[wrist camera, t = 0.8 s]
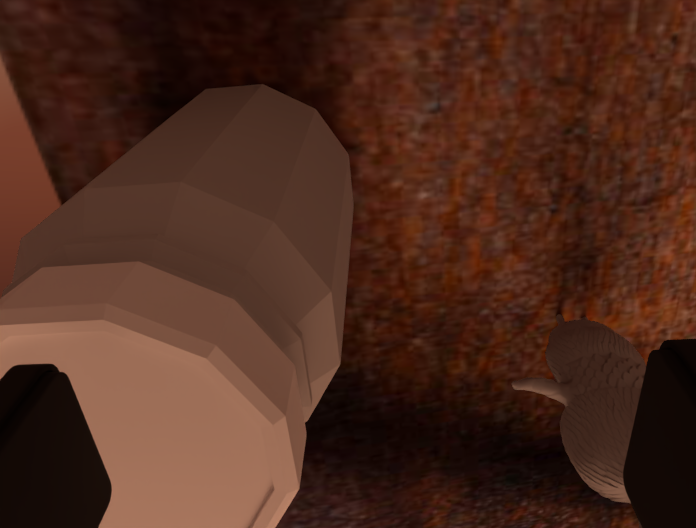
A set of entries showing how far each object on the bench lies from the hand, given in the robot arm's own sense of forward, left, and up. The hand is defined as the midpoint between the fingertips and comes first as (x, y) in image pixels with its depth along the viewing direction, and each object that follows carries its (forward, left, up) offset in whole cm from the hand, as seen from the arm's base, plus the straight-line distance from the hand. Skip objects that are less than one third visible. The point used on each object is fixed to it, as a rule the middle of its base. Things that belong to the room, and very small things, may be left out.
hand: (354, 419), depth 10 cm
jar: (+4, -5, -20) cm, 21 cm away
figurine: (+8, +13, -20) cm, 25 cm away
